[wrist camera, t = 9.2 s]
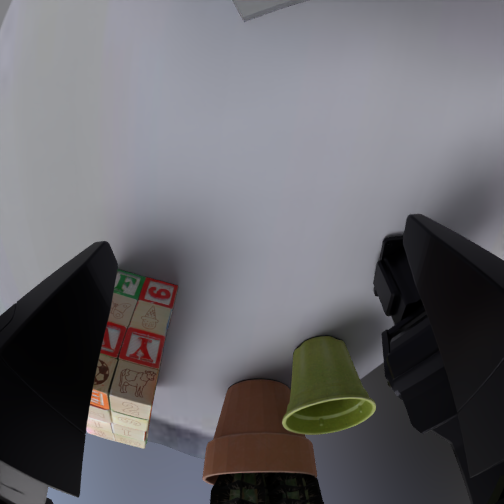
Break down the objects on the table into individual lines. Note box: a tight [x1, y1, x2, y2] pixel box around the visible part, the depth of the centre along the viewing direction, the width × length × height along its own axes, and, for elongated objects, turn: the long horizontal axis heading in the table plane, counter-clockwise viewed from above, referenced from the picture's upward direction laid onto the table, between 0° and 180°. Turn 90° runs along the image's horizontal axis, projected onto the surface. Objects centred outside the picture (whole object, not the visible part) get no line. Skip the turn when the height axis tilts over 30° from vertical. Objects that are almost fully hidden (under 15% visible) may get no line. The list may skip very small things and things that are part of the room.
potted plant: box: [203, 379, 324, 504], centre depth 30 cm, size 14×14×25 cm
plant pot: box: [282, 336, 376, 435], centre depth 31 cm, size 9×9×9 cm
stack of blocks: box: [86, 269, 178, 448], centre depth 28 cm, size 21×6×12 cm, turn 161°
